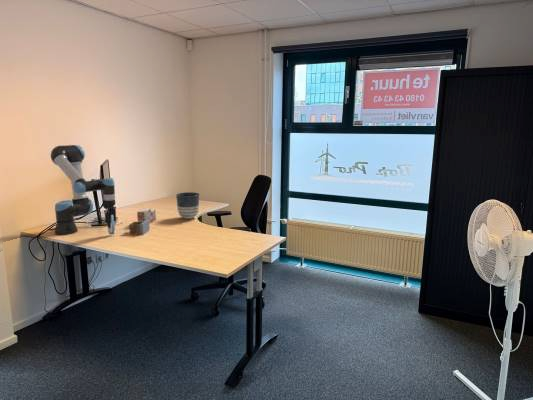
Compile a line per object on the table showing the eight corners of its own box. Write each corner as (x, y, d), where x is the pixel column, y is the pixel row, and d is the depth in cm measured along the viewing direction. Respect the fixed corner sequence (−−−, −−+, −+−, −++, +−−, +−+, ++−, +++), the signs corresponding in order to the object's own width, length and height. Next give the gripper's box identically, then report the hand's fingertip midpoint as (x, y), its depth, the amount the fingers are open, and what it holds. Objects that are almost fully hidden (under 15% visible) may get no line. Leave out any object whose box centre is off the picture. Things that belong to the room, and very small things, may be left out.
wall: (140, 234, 276) (140, 224, 274) (146, 230, 288) (146, 220, 286) (143, 234, 276) (142, 224, 274) (149, 230, 288) (148, 220, 286)
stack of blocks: (149, 220, 320) (148, 206, 317) (156, 220, 319) (155, 206, 317) (137, 226, 299) (136, 211, 297) (145, 226, 298) (144, 211, 296)
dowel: (108, 234, 271) (106, 215, 269) (110, 232, 275) (109, 214, 272) (112, 234, 271) (111, 215, 268) (115, 233, 275) (114, 214, 272)
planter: (173, 217, 328) (172, 193, 324) (193, 214, 340) (192, 191, 336) (183, 222, 313) (182, 197, 309) (203, 218, 325) (203, 194, 320)
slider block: (129, 233, 278) (129, 224, 277) (134, 230, 287) (134, 221, 286) (141, 234, 277) (140, 225, 276) (146, 230, 286) (145, 222, 285)
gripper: (108, 202, 259) (111, 234, 264) (119, 197, 276) (121, 228, 280) (98, 201, 260) (100, 234, 265) (110, 197, 276) (112, 227, 281)
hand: (111, 230), depth 273 cm, fingers closed on dowel, 3 cm apart
